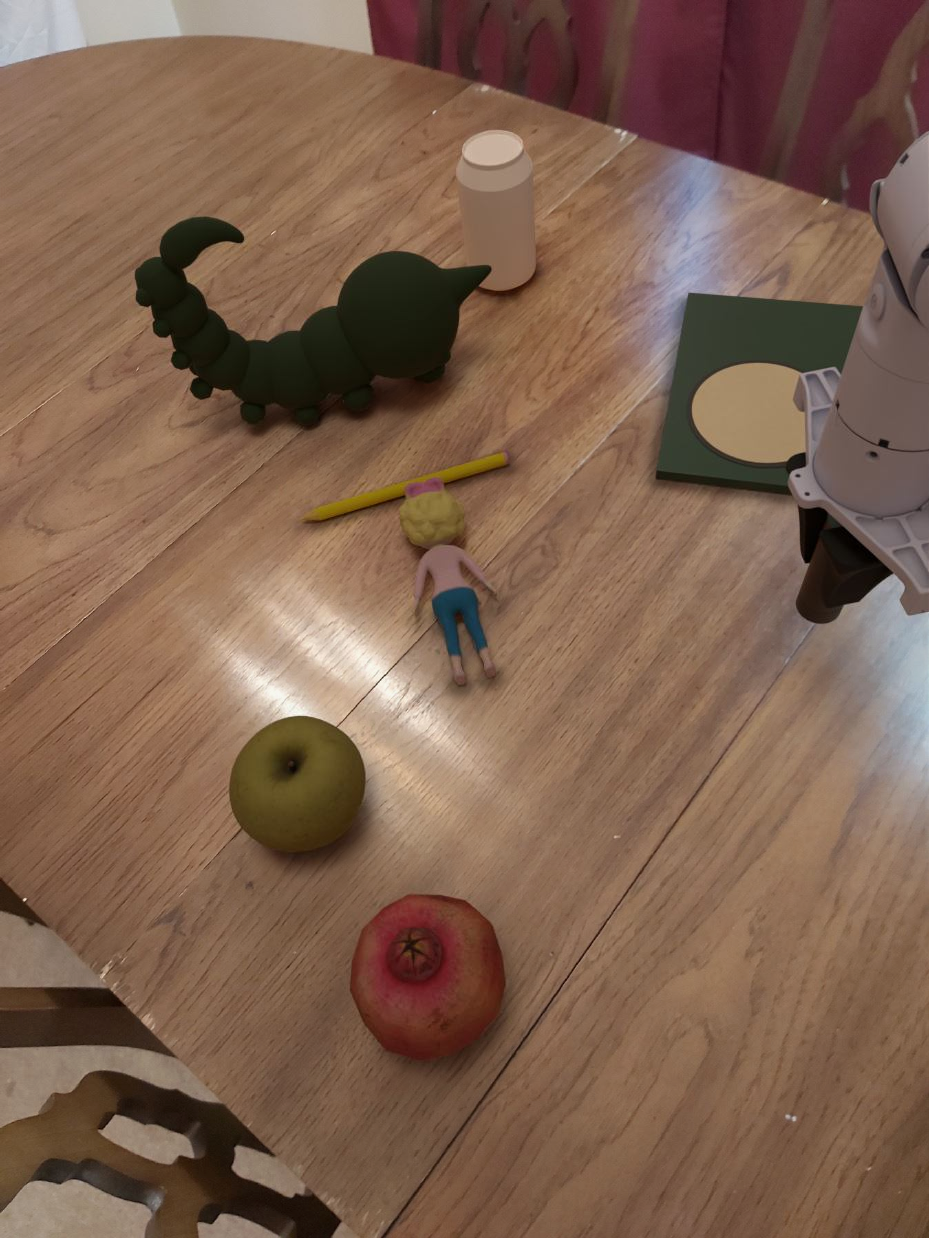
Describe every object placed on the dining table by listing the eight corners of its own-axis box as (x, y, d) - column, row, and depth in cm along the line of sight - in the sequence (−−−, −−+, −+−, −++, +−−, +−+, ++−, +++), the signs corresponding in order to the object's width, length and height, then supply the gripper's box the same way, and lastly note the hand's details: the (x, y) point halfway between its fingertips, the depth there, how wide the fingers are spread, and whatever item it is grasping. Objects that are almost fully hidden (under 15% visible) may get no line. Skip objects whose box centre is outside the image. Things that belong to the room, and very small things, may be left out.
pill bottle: (831, 583, 56) (876, 473, 48) (849, 619, 55) (899, 513, 46) (787, 592, 56) (826, 484, 48) (804, 629, 55) (847, 524, 46)
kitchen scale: (687, 301, 79) (688, 291, 78) (859, 316, 77) (863, 304, 76) (655, 479, 69) (656, 469, 68) (852, 503, 67) (856, 492, 66)
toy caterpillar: (227, 476, 76) (521, 388, 75) (110, 289, 60) (481, 174, 59) (218, 397, 81) (494, 314, 80) (109, 205, 65) (451, 98, 64)
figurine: (520, 676, 63) (466, 502, 70) (518, 646, 59) (461, 465, 66) (434, 698, 62) (389, 521, 70) (426, 669, 58) (380, 485, 66)
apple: (399, 821, 57) (379, 776, 51) (284, 895, 55) (250, 857, 49) (340, 730, 61) (315, 677, 55) (231, 796, 59) (193, 750, 53)
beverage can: (547, 285, 82) (544, 156, 72) (482, 306, 82) (469, 179, 72) (521, 245, 86) (514, 117, 76) (458, 265, 85) (443, 138, 75)
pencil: (505, 457, 72) (504, 448, 71) (509, 466, 71) (508, 457, 71) (299, 519, 71) (296, 510, 70) (301, 528, 70) (298, 520, 69)
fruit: (350, 1056, 50) (307, 1025, 42) (382, 906, 54) (348, 851, 46) (498, 1082, 49) (483, 1056, 40) (519, 927, 53) (510, 874, 45)
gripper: (757, 317, 46) (720, 495, 57) (882, 548, 38) (810, 701, 49) (897, 289, 46) (832, 472, 57) (1051, 514, 38) (939, 674, 49)
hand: (830, 577), depth 53 cm, fingers closed on pill bottle, 2 cm apart
